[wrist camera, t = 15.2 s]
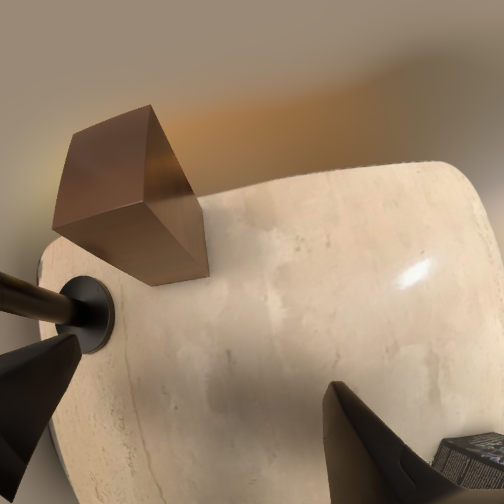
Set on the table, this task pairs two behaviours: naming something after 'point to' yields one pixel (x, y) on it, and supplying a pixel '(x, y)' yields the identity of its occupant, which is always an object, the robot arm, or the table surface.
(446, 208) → the table surface
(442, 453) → the box
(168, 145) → the walnut block
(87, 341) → the edge post
